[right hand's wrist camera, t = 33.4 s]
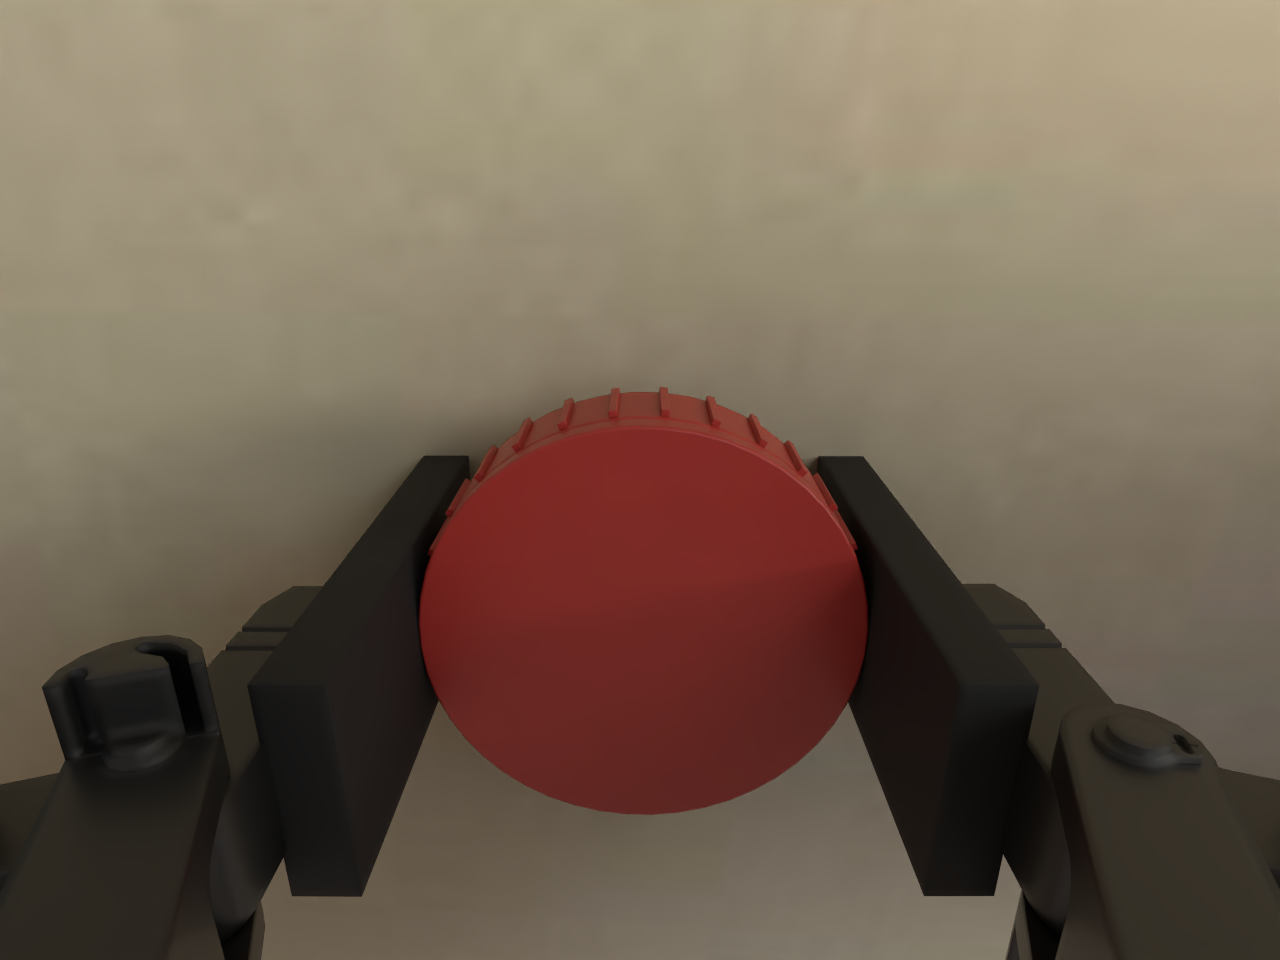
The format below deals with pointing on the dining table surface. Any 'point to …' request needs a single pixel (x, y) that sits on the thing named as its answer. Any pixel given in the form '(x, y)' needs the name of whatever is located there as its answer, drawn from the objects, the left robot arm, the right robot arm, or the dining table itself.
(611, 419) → the lid
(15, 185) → the dining table surface
